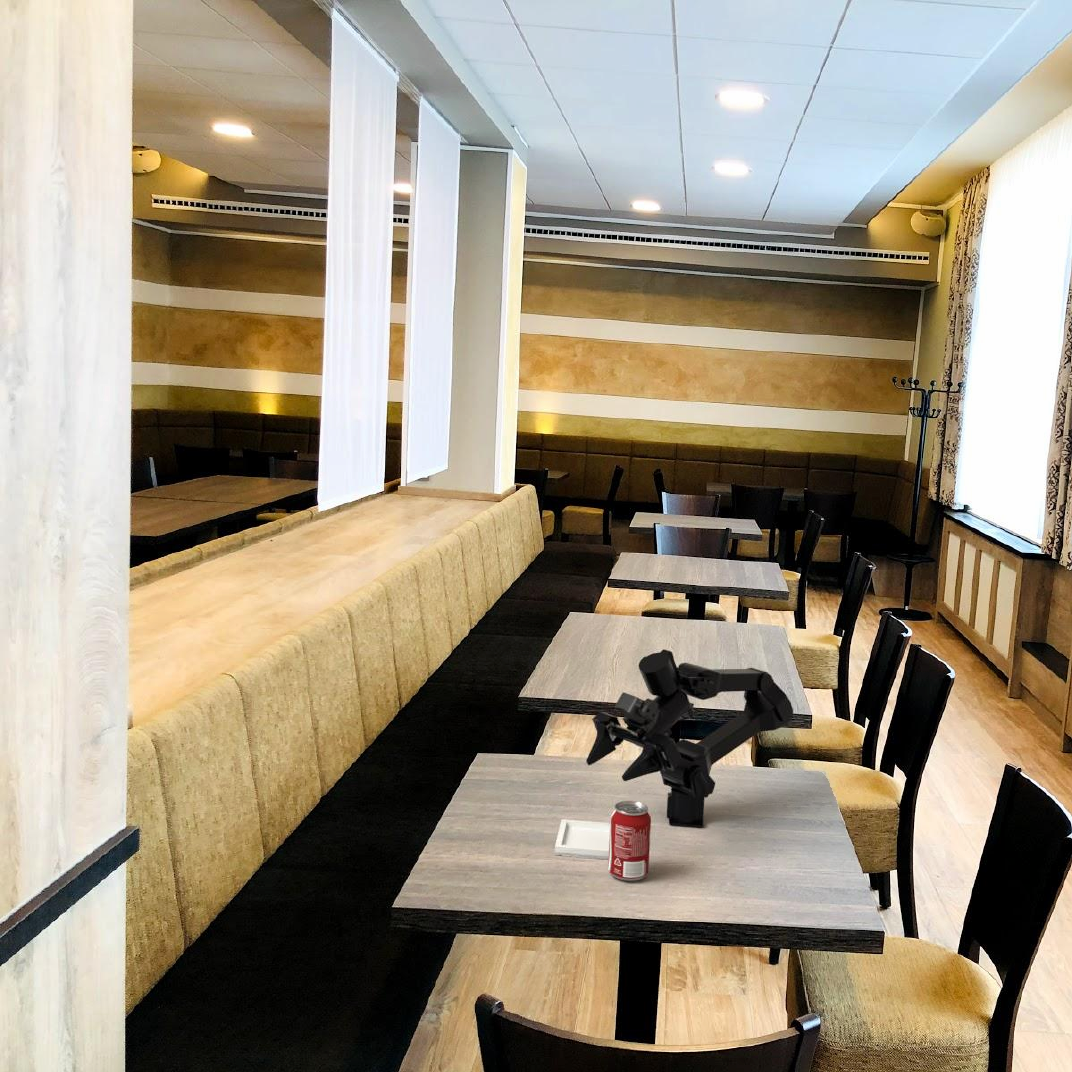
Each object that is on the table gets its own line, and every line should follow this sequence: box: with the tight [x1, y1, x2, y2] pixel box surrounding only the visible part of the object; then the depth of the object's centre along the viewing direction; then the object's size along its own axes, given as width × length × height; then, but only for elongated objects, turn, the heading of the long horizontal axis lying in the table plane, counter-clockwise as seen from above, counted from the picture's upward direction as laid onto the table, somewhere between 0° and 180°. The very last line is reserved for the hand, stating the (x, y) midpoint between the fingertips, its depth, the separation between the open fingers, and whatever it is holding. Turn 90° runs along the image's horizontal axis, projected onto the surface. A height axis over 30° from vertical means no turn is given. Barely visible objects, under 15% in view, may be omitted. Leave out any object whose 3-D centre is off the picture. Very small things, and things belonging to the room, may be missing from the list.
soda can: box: [607, 800, 652, 882], centre depth 185 cm, size 7×7×12 cm
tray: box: [554, 818, 610, 861], centre depth 198 cm, size 12×12×2 cm
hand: (604, 771), depth 194 cm, fingers open, 9 cm apart
